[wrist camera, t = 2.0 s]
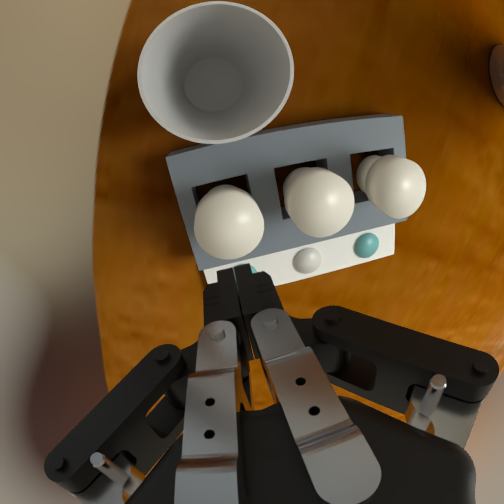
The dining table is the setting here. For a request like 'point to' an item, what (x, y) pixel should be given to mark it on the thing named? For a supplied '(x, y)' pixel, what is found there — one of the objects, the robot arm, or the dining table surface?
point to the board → (277, 155)
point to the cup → (215, 72)
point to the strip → (319, 256)
